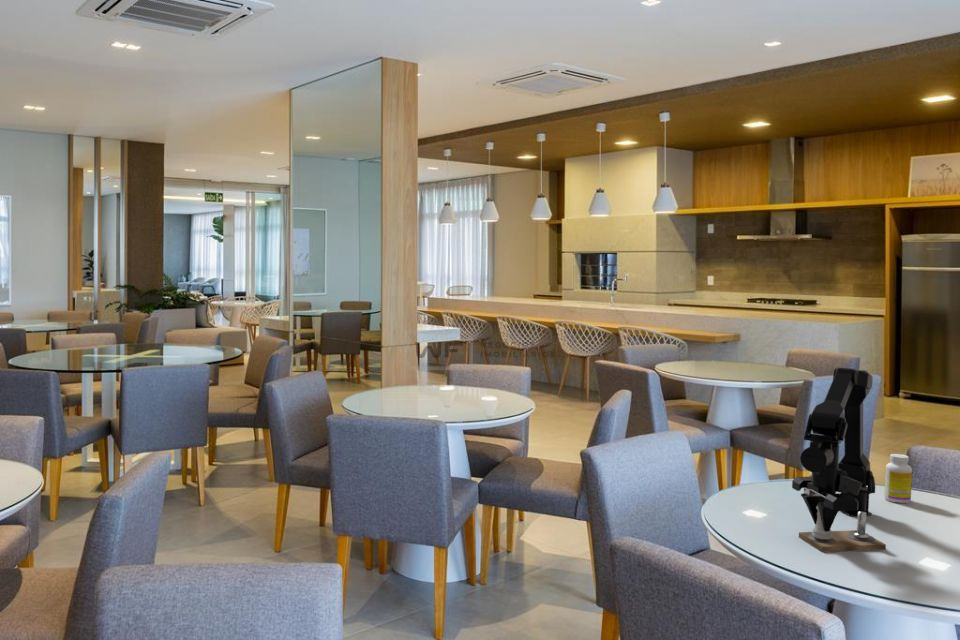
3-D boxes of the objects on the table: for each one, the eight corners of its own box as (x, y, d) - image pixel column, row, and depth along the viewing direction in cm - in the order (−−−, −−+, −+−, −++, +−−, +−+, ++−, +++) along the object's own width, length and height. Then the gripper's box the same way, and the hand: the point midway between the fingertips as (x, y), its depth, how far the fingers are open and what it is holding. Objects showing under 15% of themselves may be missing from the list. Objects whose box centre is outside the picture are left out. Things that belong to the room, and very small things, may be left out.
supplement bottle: (915, 504, 222) (917, 458, 222) (891, 503, 223) (893, 458, 222) (903, 497, 229) (905, 453, 228) (879, 496, 229) (881, 452, 228)
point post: (863, 534, 193) (864, 510, 192) (871, 539, 189) (872, 514, 189) (850, 535, 192) (851, 510, 192) (858, 539, 189) (859, 514, 189)
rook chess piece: (817, 540, 187) (819, 507, 187) (808, 534, 192) (809, 501, 191) (836, 540, 187) (837, 507, 187) (826, 533, 192) (827, 501, 191)
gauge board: (859, 534, 196) (859, 529, 196) (885, 549, 186) (885, 544, 186) (798, 537, 194) (798, 531, 194) (821, 552, 184) (821, 546, 184)
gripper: (881, 473, 180) (878, 541, 181) (834, 453, 198) (831, 514, 200) (835, 474, 179) (832, 542, 180) (792, 454, 197) (789, 516, 198)
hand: (822, 528), depth 189 cm, fingers closed on rook chess piece, 3 cm apart
